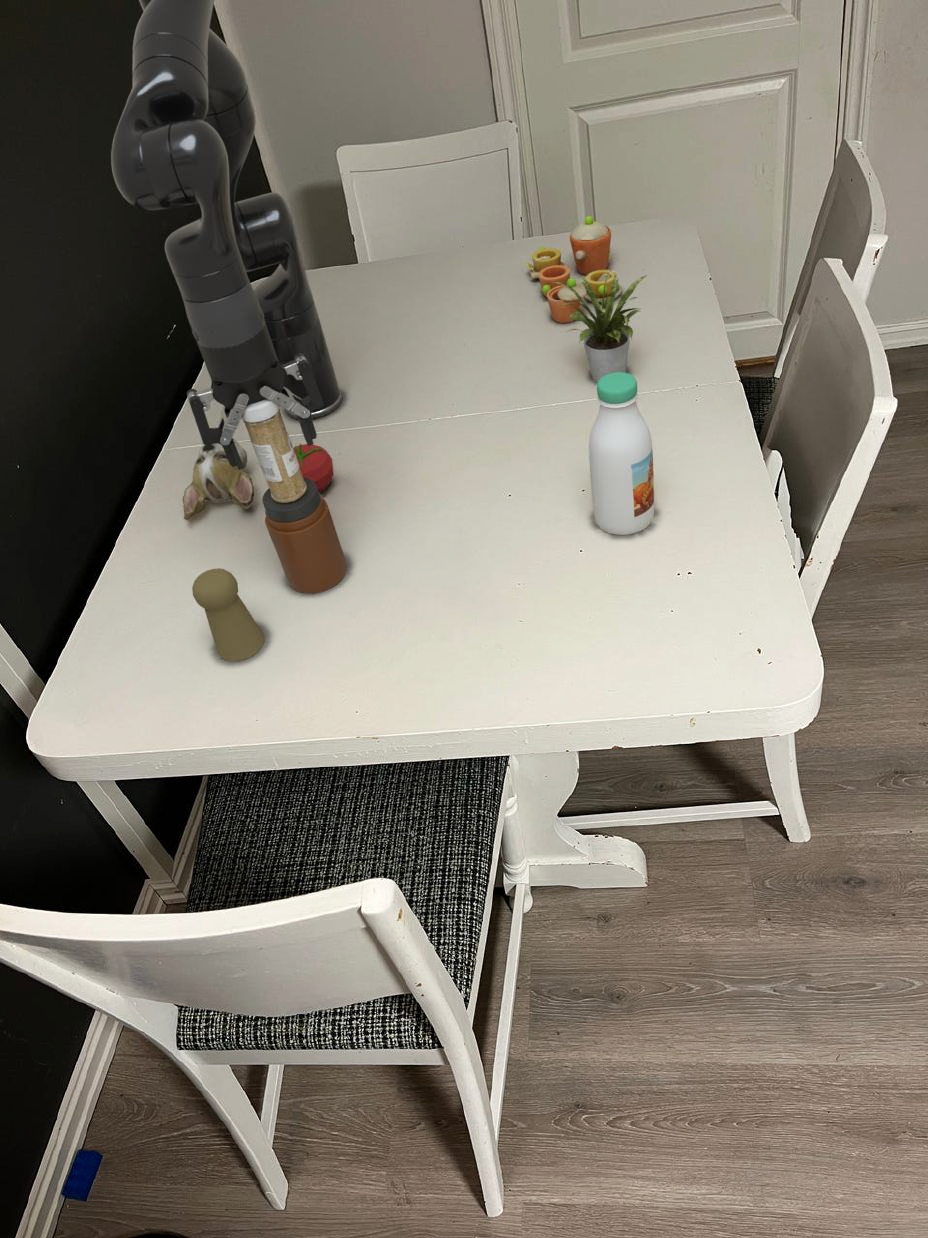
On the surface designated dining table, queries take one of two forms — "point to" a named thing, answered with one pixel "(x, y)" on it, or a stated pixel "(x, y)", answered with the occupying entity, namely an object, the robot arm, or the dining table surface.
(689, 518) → the dining table surface
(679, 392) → the dining table surface
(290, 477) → the spice jar
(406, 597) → the dining table surface
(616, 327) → the house plant
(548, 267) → the toy tea set
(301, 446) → the tomato
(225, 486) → the ceramic sculpture
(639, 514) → the milk bottle
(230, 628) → the cork
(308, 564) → the amber bottle
